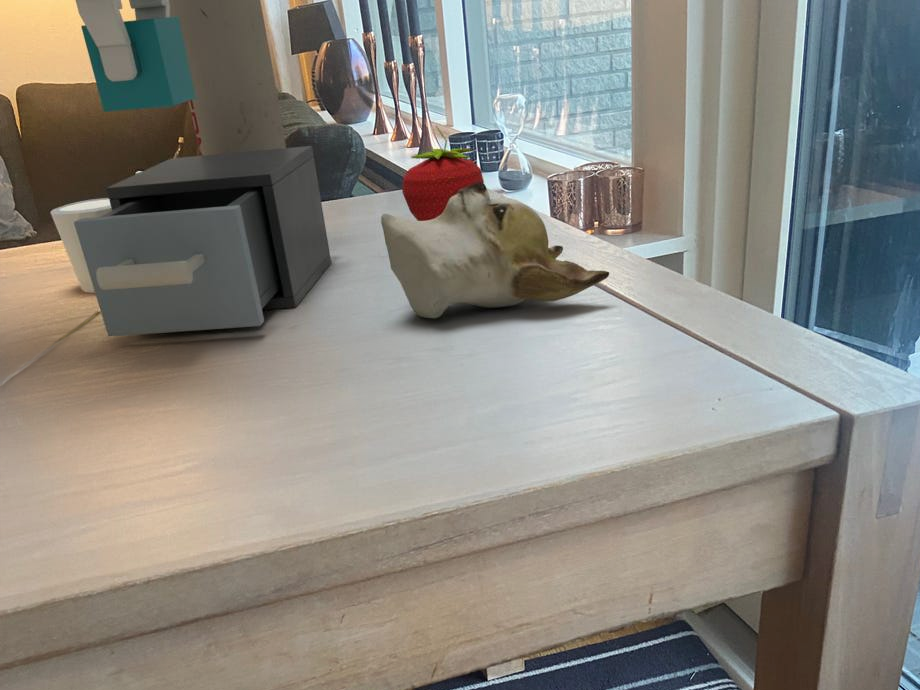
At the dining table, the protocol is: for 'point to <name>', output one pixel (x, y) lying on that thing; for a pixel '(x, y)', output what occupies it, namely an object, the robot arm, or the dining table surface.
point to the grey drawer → (182, 262)
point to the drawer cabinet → (285, 196)
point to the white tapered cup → (68, 234)
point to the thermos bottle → (230, 76)
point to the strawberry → (438, 181)
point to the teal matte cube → (147, 67)
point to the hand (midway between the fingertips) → (143, 75)
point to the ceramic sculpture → (480, 256)
